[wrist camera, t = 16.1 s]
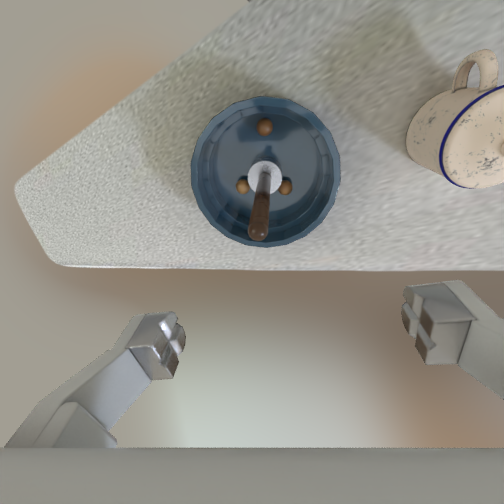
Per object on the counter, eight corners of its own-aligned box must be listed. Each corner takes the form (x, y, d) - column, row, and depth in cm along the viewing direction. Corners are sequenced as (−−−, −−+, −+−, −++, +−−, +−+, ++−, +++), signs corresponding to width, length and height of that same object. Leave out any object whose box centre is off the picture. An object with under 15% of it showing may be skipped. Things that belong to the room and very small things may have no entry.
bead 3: (295, 190, 35) (287, 179, 35) (295, 186, 33) (286, 175, 33) (284, 199, 35) (275, 188, 36) (282, 196, 33) (274, 184, 34)
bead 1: (234, 179, 34) (248, 175, 34) (233, 184, 36) (246, 180, 36) (238, 193, 34) (252, 189, 34) (238, 197, 36) (251, 193, 36)
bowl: (185, 115, 32) (168, 119, 27) (326, 79, 29) (336, 76, 24) (222, 235, 41) (215, 255, 36) (333, 217, 38) (342, 236, 33)
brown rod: (246, 159, 34) (221, 213, 18) (278, 152, 33) (281, 203, 18) (253, 190, 36) (236, 262, 21) (283, 185, 35) (290, 255, 20)
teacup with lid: (481, 155, 32) (574, 182, 22) (403, 177, 34) (456, 210, 24) (494, 39, 26) (627, 5, 16) (400, 75, 28) (466, 64, 18)
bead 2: (260, 119, 32) (253, 117, 30) (275, 118, 31) (268, 115, 29) (260, 137, 32) (253, 136, 31) (275, 136, 31) (268, 134, 30)
